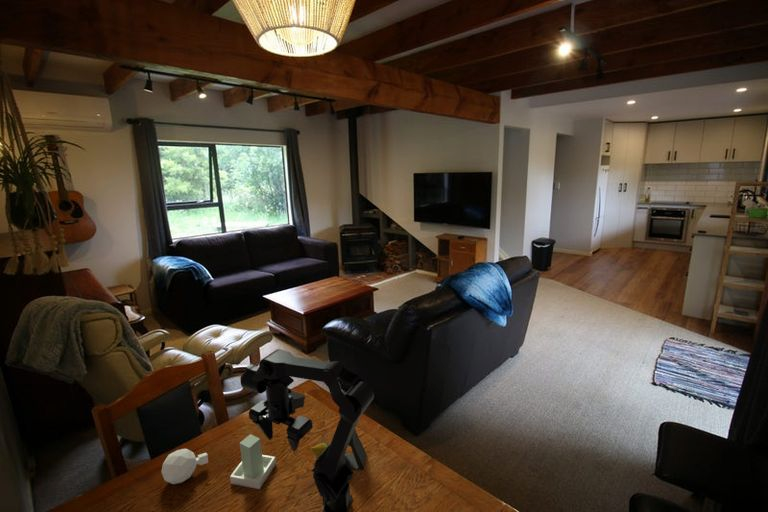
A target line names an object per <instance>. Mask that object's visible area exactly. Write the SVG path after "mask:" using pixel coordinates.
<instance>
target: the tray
mask: <svg viewBox="0 0 768 512" xmlns="http://www.w3.org/2000/svg"><path fill="white" fill-rule="evenodd" d="M262 459H263V467H264V470H263V471H262V472H261V473H260V474H259V475H258V476H257V477H256V478H255V479H252V478H250V477H248V476H246V475H244V472H243V465H242V460H241V462H240V463H239V464H238V465H237V466H236V468H235V469H234V470H233V472H232V473H231V475H230V476H229V477H230V484H231V485H236V486H241V487H246V488H252V489H257V490H261V488H262V487H263V485H264V484H265V482H266V480H267V478H268V477H269V476H270V475H271V472H272V471H273V470H274V468H275V467H276V466H277V461H276V460H277V459H276V456H272V455H266V454H262Z"/></svg>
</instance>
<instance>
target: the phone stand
mask: <svg viewBox="0 0 768 512" xmlns="http://www.w3.org/2000/svg"><path fill="white" fill-rule="evenodd" d="M356 430H357V429H355V430H354V432H353V435H352V437H351V440H350V442H349V445H348V447H350V448H351V451H352V453H350V452H349V453H347V452H345V457H346V464H347V465H348V466H349V467H350V469H351V470H352V471H353V470H355V471H358V470H359V471H360V470H362V471H364V470H365V467H366V461H367V460H366V458H367V451H366V449H365V447H364V446H363V444H362V441H361V439H360V437H359V435H358V432H357V431H356Z"/></svg>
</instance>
